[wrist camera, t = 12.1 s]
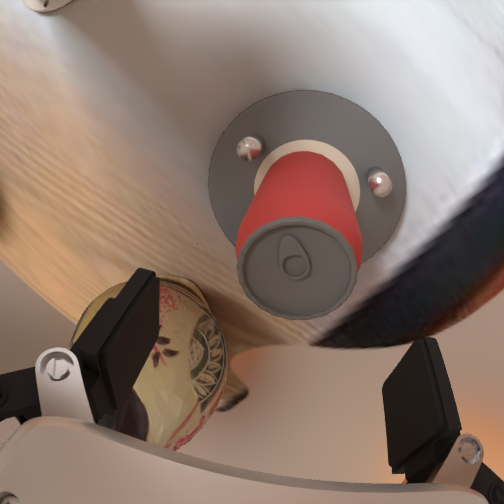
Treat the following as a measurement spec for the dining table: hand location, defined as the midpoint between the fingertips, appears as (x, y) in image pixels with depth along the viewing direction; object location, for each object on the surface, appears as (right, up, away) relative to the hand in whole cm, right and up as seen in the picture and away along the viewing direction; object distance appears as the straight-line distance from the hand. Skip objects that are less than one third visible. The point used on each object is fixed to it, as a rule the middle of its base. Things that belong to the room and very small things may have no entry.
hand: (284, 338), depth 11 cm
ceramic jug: (-9, -3, +25) cm, 26 cm away
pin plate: (+3, +8, +15) cm, 18 cm away
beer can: (+3, +8, +14) cm, 17 cm away
